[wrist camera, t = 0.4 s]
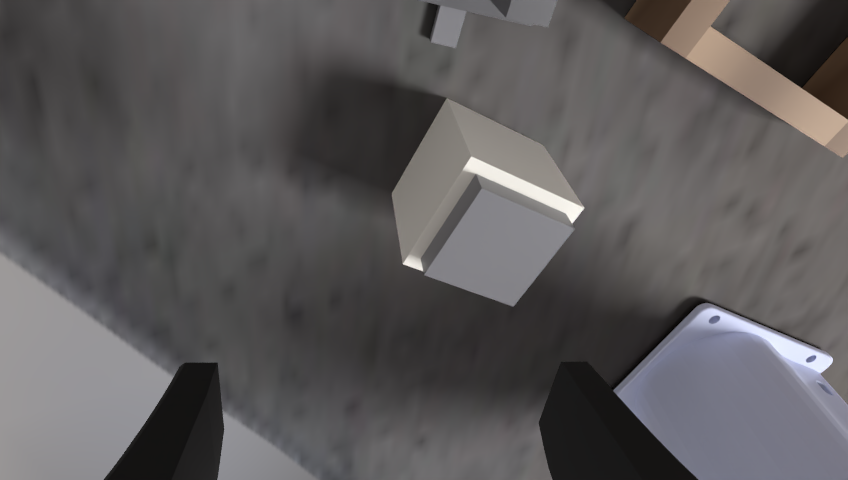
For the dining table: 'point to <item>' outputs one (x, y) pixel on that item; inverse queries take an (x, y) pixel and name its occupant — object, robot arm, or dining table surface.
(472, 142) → the white boxy piece
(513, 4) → the clip
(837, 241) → the dining table surface
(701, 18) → the frame
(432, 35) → the strip
